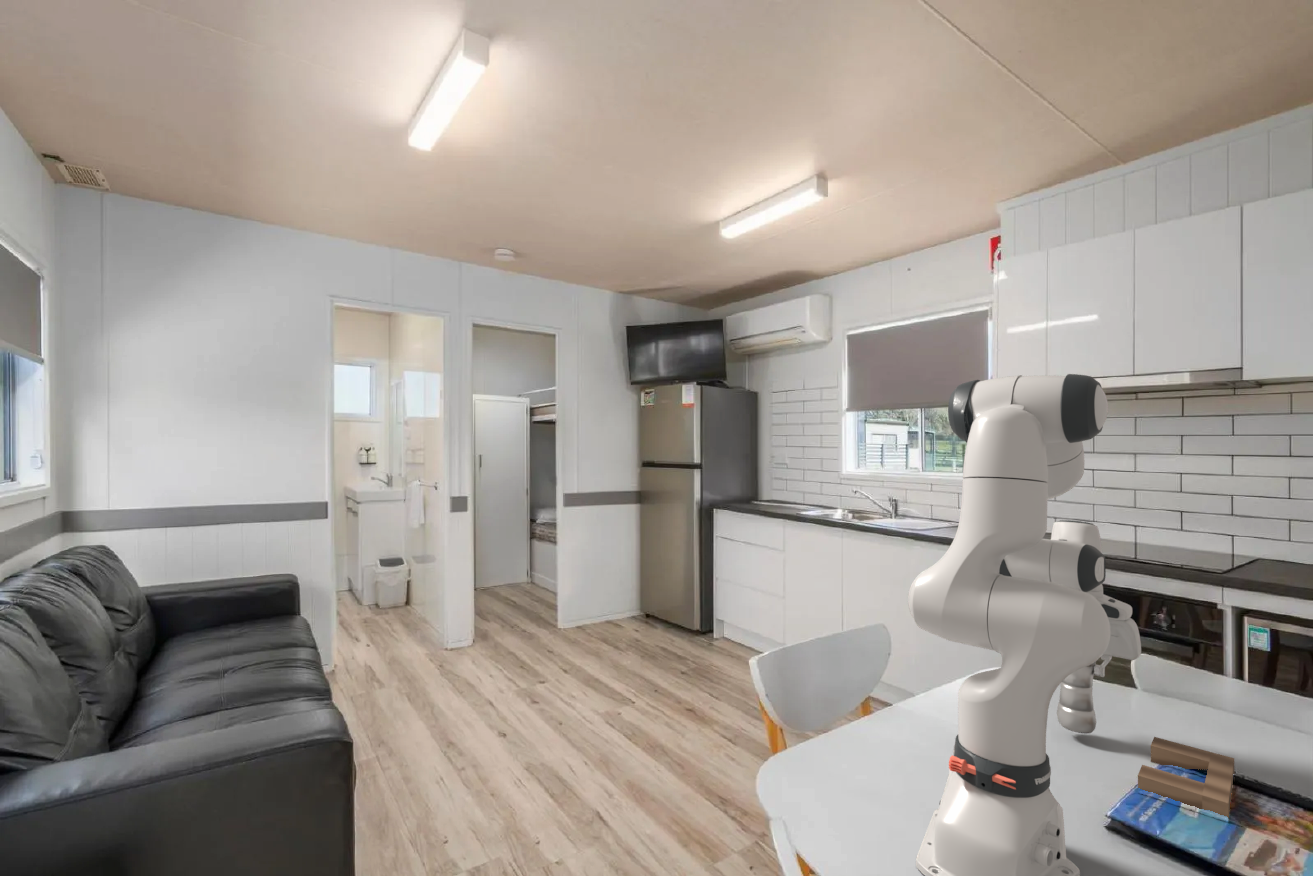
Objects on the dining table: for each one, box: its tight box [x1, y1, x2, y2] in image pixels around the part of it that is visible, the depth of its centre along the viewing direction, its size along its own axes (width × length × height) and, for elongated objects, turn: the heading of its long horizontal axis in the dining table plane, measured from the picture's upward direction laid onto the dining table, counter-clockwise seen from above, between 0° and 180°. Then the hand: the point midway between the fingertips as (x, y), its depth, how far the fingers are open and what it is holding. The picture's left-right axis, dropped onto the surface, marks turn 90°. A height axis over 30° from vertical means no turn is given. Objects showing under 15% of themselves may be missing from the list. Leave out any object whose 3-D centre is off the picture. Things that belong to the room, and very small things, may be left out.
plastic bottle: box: [1056, 660, 1097, 735], centre depth 119 cm, size 6×7×20 cm
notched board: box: [1137, 736, 1236, 819], centre depth 103 cm, size 20×11×3 cm, turn 134°
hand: (1076, 670), depth 119 cm, fingers closed on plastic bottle, 6 cm apart
